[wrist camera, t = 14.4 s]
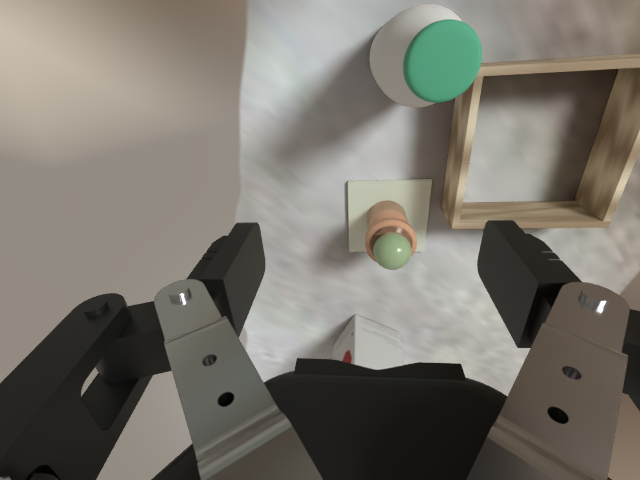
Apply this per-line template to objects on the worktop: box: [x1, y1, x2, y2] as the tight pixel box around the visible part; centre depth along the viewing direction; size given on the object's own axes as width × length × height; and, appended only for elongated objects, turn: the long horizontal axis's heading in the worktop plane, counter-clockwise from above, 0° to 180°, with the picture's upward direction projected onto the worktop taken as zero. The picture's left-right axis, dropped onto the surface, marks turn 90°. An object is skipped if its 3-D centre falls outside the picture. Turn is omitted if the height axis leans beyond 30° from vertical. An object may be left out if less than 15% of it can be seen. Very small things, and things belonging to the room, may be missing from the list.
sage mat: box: [348, 179, 432, 252], centre depth 47 cm, size 11×11×1 cm
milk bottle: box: [370, 4, 482, 107], centre depth 29 cm, size 8×8×20 cm
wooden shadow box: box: [441, 54, 640, 229], centre depth 38 cm, size 18×18×6 cm
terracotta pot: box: [365, 200, 417, 270], centre depth 42 cm, size 6×6×11 cm
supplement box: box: [332, 314, 404, 370], centre depth 53 cm, size 9×9×15 cm
